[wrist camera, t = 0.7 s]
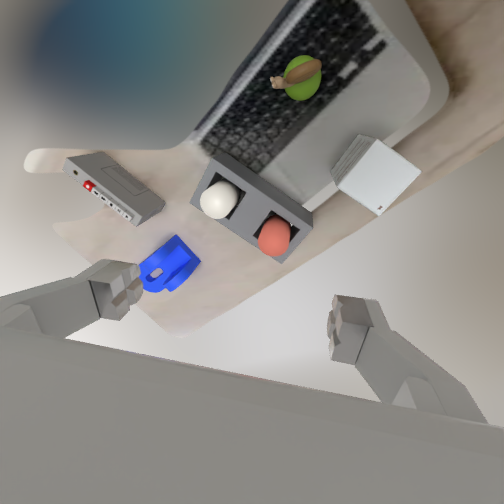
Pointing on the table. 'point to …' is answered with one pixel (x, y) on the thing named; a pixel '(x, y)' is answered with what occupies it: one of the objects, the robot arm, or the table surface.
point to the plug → (220, 199)
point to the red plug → (274, 236)
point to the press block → (254, 203)
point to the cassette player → (114, 186)
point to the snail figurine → (300, 78)
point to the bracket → (168, 266)
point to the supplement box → (373, 173)
